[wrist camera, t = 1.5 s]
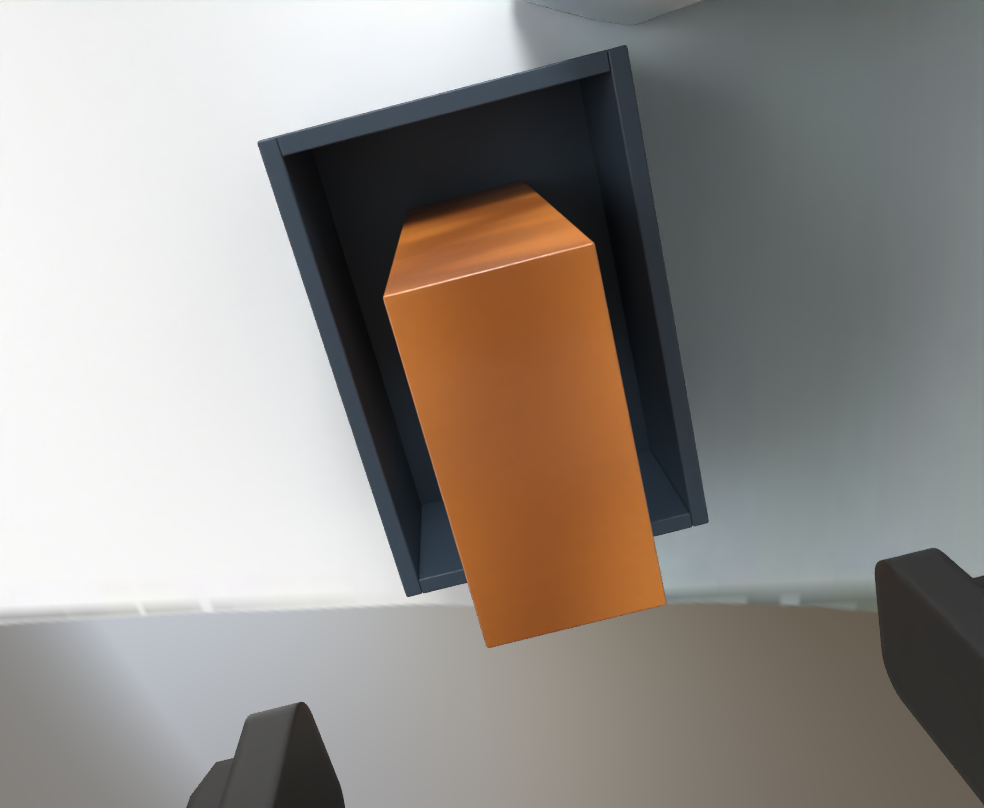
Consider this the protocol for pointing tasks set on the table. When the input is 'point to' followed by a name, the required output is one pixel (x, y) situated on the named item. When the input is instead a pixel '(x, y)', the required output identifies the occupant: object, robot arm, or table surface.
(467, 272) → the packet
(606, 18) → the skincare box
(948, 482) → the table surface
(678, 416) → the tote
